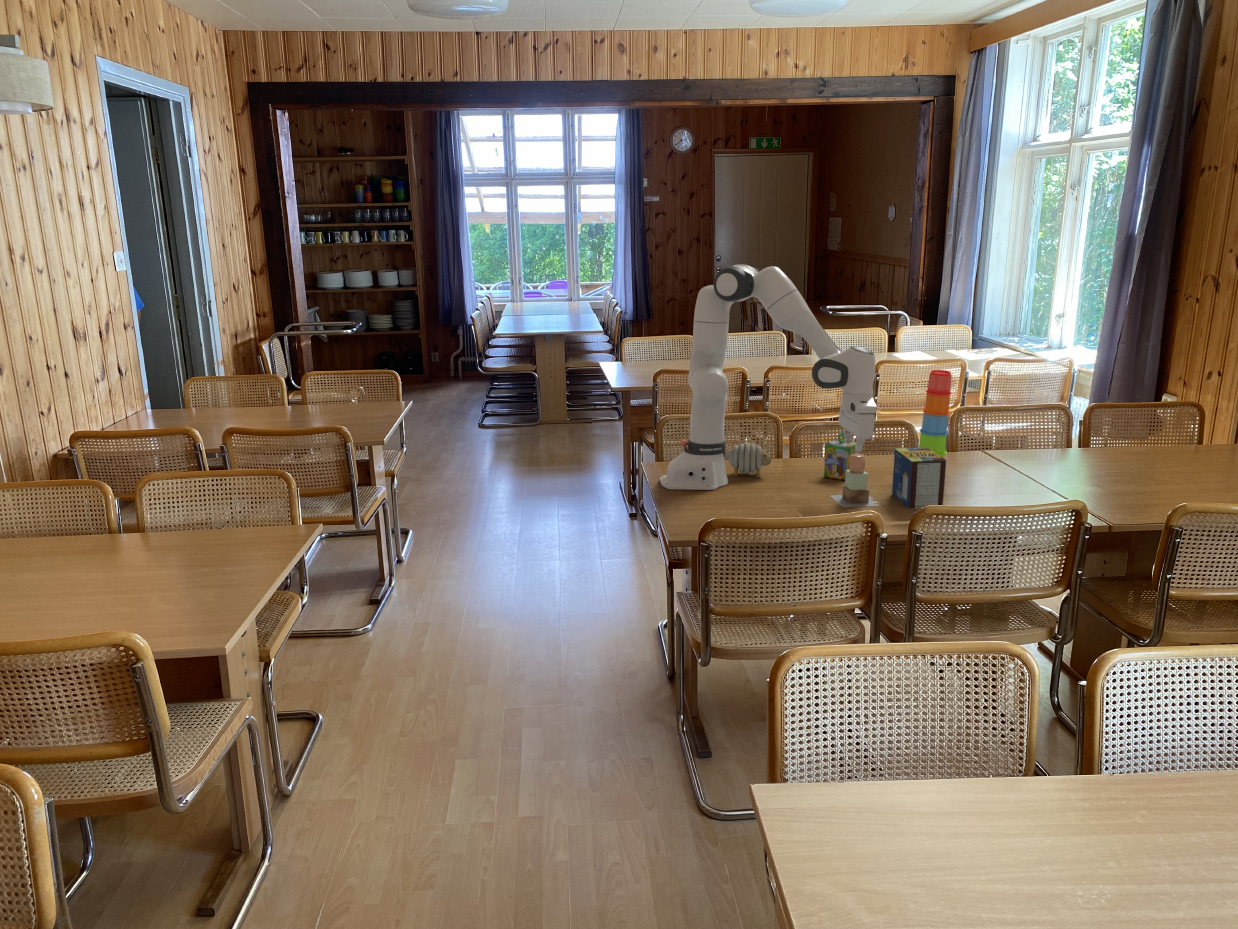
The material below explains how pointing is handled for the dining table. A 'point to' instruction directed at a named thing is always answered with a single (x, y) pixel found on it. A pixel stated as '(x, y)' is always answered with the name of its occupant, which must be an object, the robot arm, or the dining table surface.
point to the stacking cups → (936, 412)
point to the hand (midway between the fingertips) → (852, 447)
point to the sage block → (856, 481)
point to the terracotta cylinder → (857, 463)
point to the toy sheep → (748, 458)
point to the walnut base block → (855, 495)
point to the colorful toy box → (838, 457)
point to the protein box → (918, 477)
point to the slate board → (845, 504)
